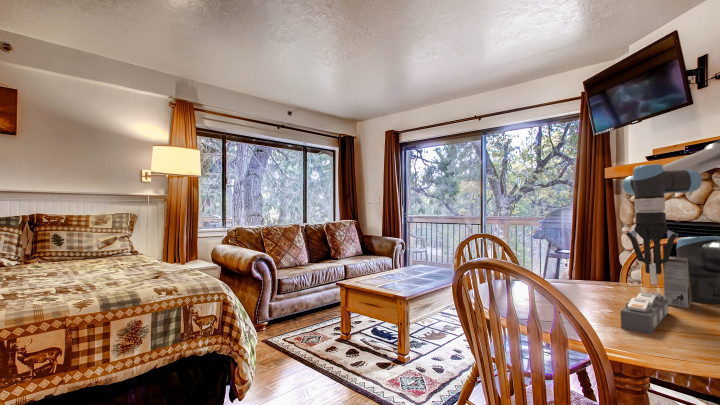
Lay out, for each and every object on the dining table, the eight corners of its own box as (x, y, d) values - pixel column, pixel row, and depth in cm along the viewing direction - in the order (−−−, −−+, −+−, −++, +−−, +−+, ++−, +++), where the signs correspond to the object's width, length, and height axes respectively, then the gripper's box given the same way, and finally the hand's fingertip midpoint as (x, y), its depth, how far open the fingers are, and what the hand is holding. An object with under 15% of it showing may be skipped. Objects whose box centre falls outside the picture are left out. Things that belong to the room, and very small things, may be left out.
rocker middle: (639, 296, 105) (638, 292, 105) (655, 299, 102) (655, 294, 102) (634, 304, 101) (634, 300, 101) (652, 307, 98) (651, 302, 98)
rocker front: (632, 301, 100) (632, 297, 99) (650, 304, 96) (649, 299, 96) (627, 310, 96) (627, 305, 96) (645, 313, 93) (645, 308, 93)
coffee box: (667, 299, 124) (665, 255, 124) (691, 302, 119) (689, 257, 119) (663, 304, 118) (661, 258, 118) (689, 308, 113) (687, 260, 113)
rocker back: (645, 295, 110) (645, 291, 110) (661, 298, 107) (661, 293, 107) (641, 296, 107) (641, 291, 107) (657, 298, 103) (657, 293, 104)
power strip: (642, 309, 112) (641, 290, 113) (669, 313, 107) (668, 293, 107) (621, 328, 95) (620, 305, 95) (651, 334, 90) (651, 311, 90)
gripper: (622, 212, 112) (626, 282, 112) (675, 211, 102) (679, 288, 102) (628, 211, 117) (631, 279, 117) (678, 211, 107) (683, 284, 106)
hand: (654, 283), depth 109 cm, fingers closed
